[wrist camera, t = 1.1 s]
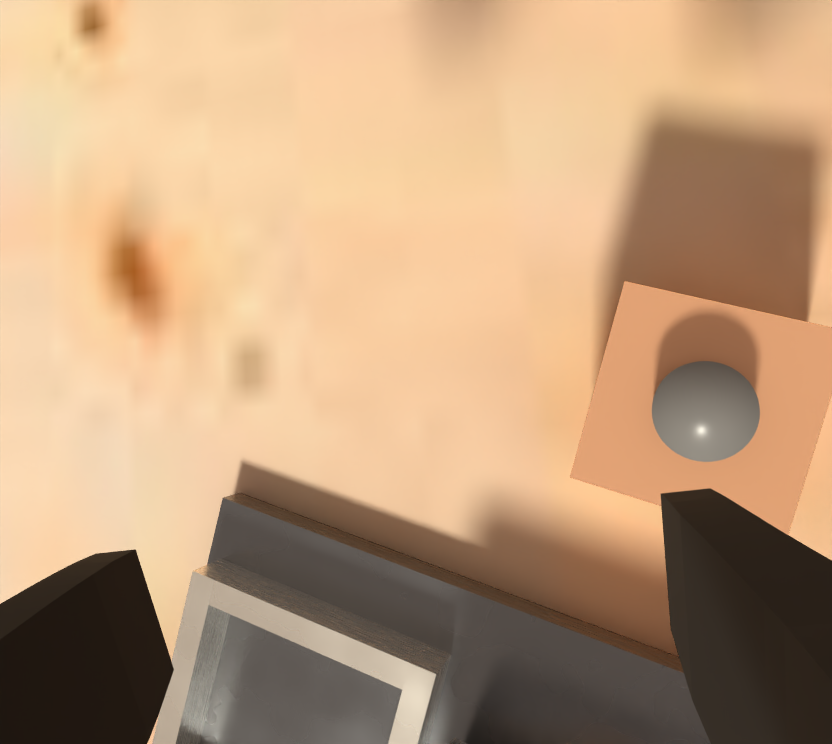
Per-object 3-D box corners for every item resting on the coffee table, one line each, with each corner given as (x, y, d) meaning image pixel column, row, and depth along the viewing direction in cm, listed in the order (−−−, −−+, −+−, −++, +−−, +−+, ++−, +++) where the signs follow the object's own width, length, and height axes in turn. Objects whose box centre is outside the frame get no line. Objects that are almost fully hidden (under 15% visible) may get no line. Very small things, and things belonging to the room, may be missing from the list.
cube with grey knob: (805, 340, 19) (864, 329, 14) (756, 502, 20) (793, 556, 14) (634, 300, 21) (622, 275, 15) (591, 452, 21) (564, 484, 15)
